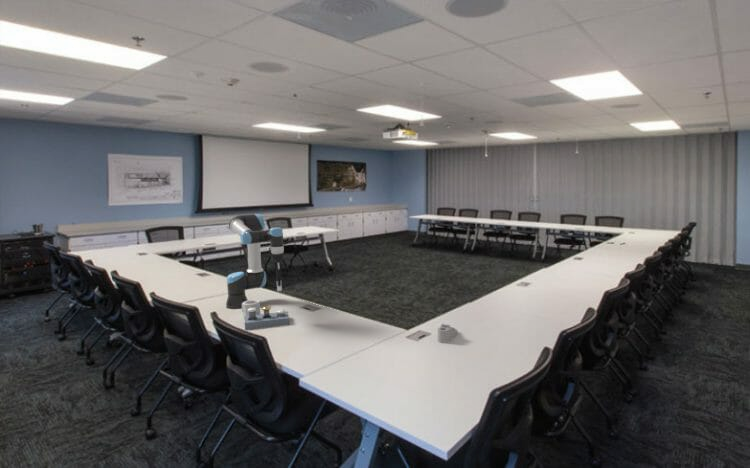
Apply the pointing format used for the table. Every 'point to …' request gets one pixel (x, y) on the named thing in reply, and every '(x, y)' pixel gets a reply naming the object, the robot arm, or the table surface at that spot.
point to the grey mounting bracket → (446, 333)
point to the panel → (266, 321)
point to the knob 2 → (280, 313)
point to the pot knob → (266, 311)
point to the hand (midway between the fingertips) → (279, 290)
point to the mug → (250, 304)
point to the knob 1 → (252, 313)
